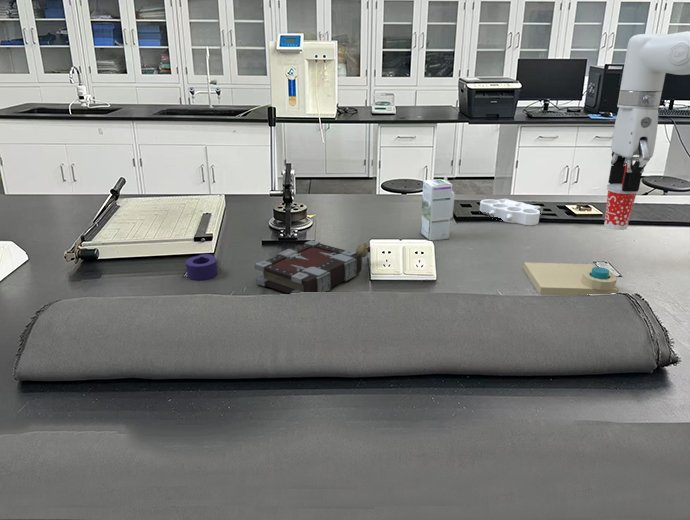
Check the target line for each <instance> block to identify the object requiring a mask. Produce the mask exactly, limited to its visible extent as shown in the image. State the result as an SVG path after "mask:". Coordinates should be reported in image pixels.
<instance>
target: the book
mask: <svg viewBox="0 0 690 520" xmlns="http://www.w3.org/2000/svg"><path fill="white" fill-rule="evenodd" d="M370 248H371V247H370V246H368V243H367V242H365V243H362V244H359V245H357V247H356V249H355V251H354V250H350V249H343V248H338V247H335V246H331V245H327V244H324V243H321V242H320V241H317V240H313V239H310V240H308V241H306V242H304V244H302V245H300V246H298V247H295V248H293V249H292V248H287V249H285V250H281V252H278V253H275V254H274V256H273V257H271V258H269V259H267V260H260V261H259V262H256V263H254V270H258V271H260V272H263V273H262V274H263V275H260V276H258V277H257V278H255V284H257V285H258V286H262V287H268V288H271V289H274V290H277V291H280V292H282V293H285V294H288V293H300V292H326V291H327V292H329V291H330V290H331V289H332V288H333V287H335V286H338V285H339V284H341V283H342V282H347V281H349V280H352V279H353V278H354V277H356V276H357V274H359V273H361V271H362V265H363V259H362V258H366V257H367V256H368V253H371V252H370ZM327 292H326V293H327Z"/></svg>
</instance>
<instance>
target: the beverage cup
mask: <svg viewBox="0 0 690 520" xmlns="http://www.w3.org/2000/svg"><path fill="white" fill-rule="evenodd" d="M625 165H626V166H625V171H624V175H625V172H627V162H626V164H625ZM623 180H624V177H623ZM622 186H623V182H622V184H610V183H608V184H607V185H606V190H607V195H606V205H605V215H604V224H603V226H604V227H605V228H606V229H610V230H616V231H625V230H627V229H628V226H629V222H630V219H631V214H632V212H633V207H634V203H635V201H636V196H637V194H638V193H639V190H638V191H637V192H624V191H622Z"/></svg>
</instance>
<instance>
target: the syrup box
mask: <svg viewBox="0 0 690 520" xmlns="http://www.w3.org/2000/svg"><path fill="white" fill-rule="evenodd" d="M449 182H450V181H449ZM449 182H447V181H445V180H444V178H443V179H442V178H432V179H426V180H423V181H422V195H421V196H422V197H421V216H420V217H421V218H420V235H421V236H423V237H424V238H425V239H427V240H428V241H430V240H432V241H442V240H443V241H444V240H449V239H450V229H451V228H450V227H451V226H450V225H451V224H450V223H451V219H450V213H451V198H452V191H453V183H451V182H450V183H449Z"/></svg>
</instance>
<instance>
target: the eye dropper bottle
mask: <svg viewBox="0 0 690 520" xmlns="http://www.w3.org/2000/svg"><path fill="white" fill-rule="evenodd" d="M443 180H445V181H447V182H449V183H451V182H450V181H449V180H448V177H447V176H444V177H443ZM455 195H456V194H455V192H454V191H453V190H452V198H451V213H450V220H452V219H453V218H454V209H455V207H454V206H455V198H456V197H455Z"/></svg>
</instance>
